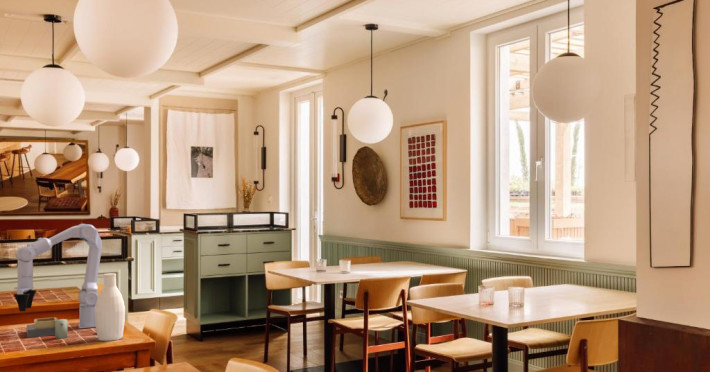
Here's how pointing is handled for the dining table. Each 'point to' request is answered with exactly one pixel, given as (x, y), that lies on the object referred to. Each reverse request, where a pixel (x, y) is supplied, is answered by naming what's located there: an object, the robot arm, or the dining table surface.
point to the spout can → (61, 329)
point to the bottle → (110, 311)
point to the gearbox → (41, 327)
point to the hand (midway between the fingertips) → (25, 309)
